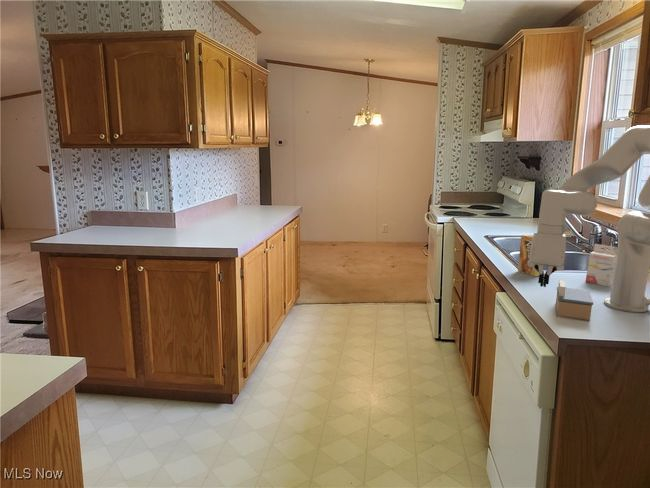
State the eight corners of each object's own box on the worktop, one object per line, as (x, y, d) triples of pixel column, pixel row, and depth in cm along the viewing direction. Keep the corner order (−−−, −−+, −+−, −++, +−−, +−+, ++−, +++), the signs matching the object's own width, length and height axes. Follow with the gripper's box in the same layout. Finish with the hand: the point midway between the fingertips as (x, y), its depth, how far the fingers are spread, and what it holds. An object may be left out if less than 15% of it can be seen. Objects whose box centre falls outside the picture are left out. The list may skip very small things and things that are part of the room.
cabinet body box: (585, 308, 161) (587, 293, 160) (589, 321, 150) (591, 305, 148) (555, 304, 165) (557, 290, 164) (557, 316, 153) (559, 301, 152)
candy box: (542, 275, 200) (546, 238, 197) (536, 276, 198) (540, 239, 195) (523, 270, 207) (527, 234, 204) (516, 271, 205) (520, 235, 202)
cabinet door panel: (588, 292, 160) (590, 281, 159) (592, 305, 148) (594, 293, 147) (556, 288, 164) (558, 277, 163) (558, 300, 152) (560, 288, 151)
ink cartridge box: (584, 282, 192) (590, 245, 189) (588, 279, 196) (593, 243, 193) (609, 286, 187) (615, 248, 184) (612, 284, 191) (618, 246, 187)
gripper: (576, 230, 156) (567, 286, 159) (525, 225, 161) (518, 279, 165) (578, 234, 149) (569, 292, 153) (524, 228, 154) (517, 285, 158)
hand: (542, 285), depth 159 cm, fingers closed
